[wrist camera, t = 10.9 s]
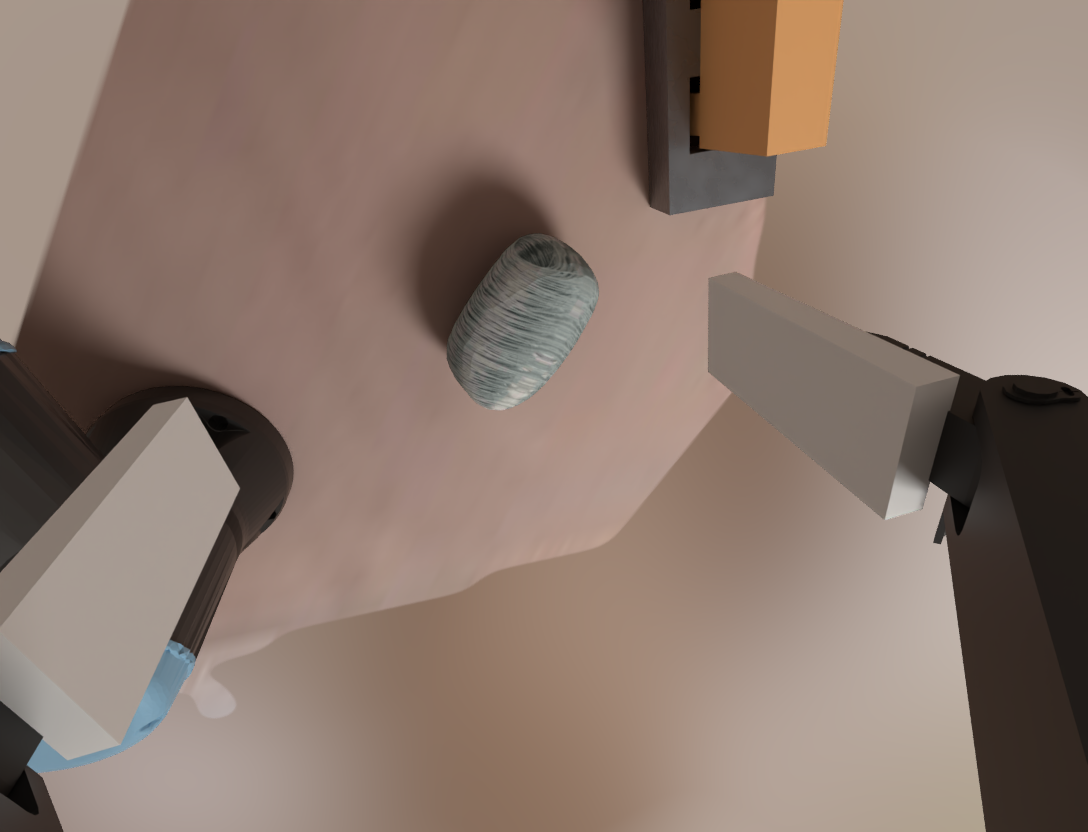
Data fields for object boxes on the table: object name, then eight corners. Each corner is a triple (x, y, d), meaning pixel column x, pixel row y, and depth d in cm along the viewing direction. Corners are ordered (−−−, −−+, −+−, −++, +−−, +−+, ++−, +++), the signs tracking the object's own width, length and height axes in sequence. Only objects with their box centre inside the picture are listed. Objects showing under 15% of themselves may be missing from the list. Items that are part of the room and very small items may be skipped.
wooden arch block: (678, 145, 39) (766, 156, 29) (677, -67, 33) (788, -149, 23) (723, 137, 39) (826, 145, 29) (729, -75, 33) (862, -159, 23)
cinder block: (650, 206, 41) (669, 215, 38) (637, -148, 31) (663, -180, 28) (745, 189, 42) (773, 195, 39) (764, -164, 32) (804, -198, 28)
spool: (514, 185, 36) (570, 287, 31) (593, 241, 43) (648, 331, 38) (401, 316, 42) (434, 417, 37) (487, 346, 49) (523, 434, 45)
